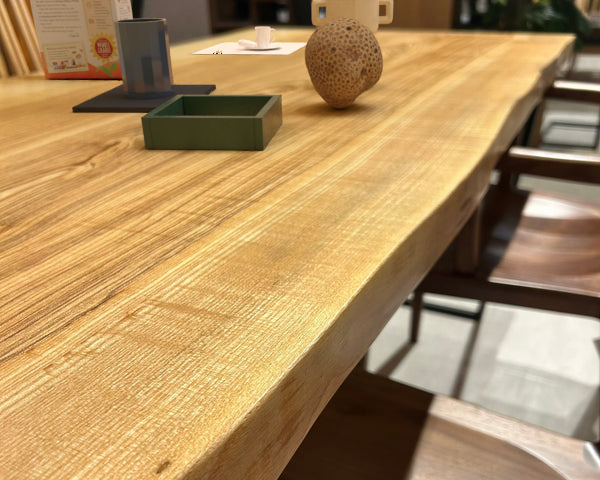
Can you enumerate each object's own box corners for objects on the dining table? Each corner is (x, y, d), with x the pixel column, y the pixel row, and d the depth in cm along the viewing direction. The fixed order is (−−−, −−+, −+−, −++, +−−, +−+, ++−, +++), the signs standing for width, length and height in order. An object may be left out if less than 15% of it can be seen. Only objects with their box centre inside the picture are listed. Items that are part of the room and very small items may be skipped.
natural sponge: (351, 97, 82) (352, 12, 77) (397, 108, 75) (402, 16, 71) (292, 107, 78) (289, 17, 73) (335, 119, 71) (336, 21, 66)
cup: (117, 99, 82) (105, 22, 77) (135, 90, 87) (125, 18, 83) (165, 99, 81) (156, 22, 77) (180, 90, 86) (172, 17, 82)
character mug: (386, 80, 93) (389, -19, 87) (394, 89, 87) (398, -18, 81) (311, 83, 93) (310, -17, 87) (314, 91, 86) (312, -16, 80)
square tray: (145, 149, 61) (140, 117, 60) (180, 122, 72) (177, 94, 70) (263, 150, 60) (262, 117, 59) (282, 122, 70) (281, 94, 69)
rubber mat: (72, 112, 78) (71, 107, 78) (121, 88, 92) (121, 84, 92) (183, 112, 76) (183, 107, 76) (216, 88, 90) (215, 84, 90)
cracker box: (142, 74, 104) (122, -75, 94) (126, 80, 99) (104, -77, 89) (63, 73, 107) (36, -71, 97) (44, 79, 101) (13, -73, 92)
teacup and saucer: (234, 51, 128) (233, 29, 126) (246, 46, 135) (245, 25, 133) (277, 51, 126) (276, 29, 125) (286, 46, 133) (286, 25, 131)
